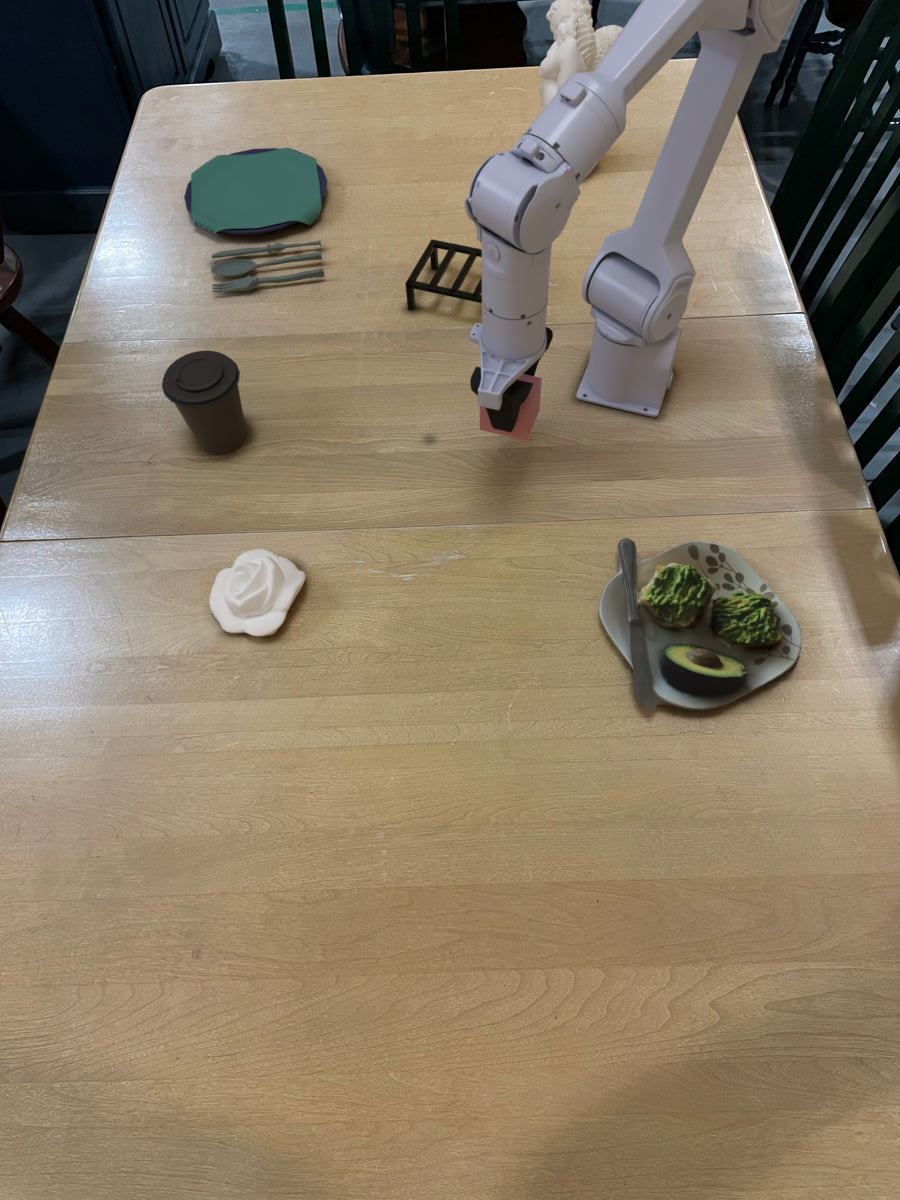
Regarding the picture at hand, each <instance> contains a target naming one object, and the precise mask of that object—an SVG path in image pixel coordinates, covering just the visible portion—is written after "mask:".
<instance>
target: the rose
mask: <svg viewBox="0 0 900 1200" xmlns="http://www.w3.org/2000/svg"><path fill="white" fill-rule="evenodd" d="M306 578H307V576H306V573H305V572H304V571H303V570H302V571H301V570H299V568H298V567H297V566H296V564H295V563H293V562H292V561H291V560H290V559H288V558H286V557H285V556H283V555H276V554H275V553H274V552H272V551H270V550H268V549H266V548H254V549H250V550H247V551H244V552H242V553H240V554H239V555H238V556H237V557H236V559H235V560H234V562H233V564H232V567H226V568H222V569H221V570H220V571H219V572H218V573H217V575H216V577H215V578H214V579H215V580H214V583H213V586H212V588H211V590H210V593H209V598H208V599H209V601H208V602H209V608H210V612H211V614H212V615H213V617H214V618H215V620H217V622H218V623H219V625H220V627H221V629H222V630H223V631H225V632H227V633H230V634H243V633H244V634H248V635H250V636H254V637H265V636H272V635H274V634H276V633H277V631H278V629H279V628H280V627H281V626H282V625H283V624H284V622H285V620H286V618H287V615H288V612H289V610H290V607H291V606H292V604H293V602H294V601H295V599H296V597H297V596H298V594H299V593H300V591H301V590H302V587H303V586H304V583H305V582H306Z"/></svg>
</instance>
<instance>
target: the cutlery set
mask: <svg viewBox="0 0 900 1200" xmlns="http://www.w3.org/2000/svg"><path fill="white" fill-rule="evenodd" d="M327 187H328V178H327V176H326V174H325V172H324V169H323V167H322V166H321V165H319V164H318V163H317V158H315V157H313V156H312V155H308V154H307V153H303V152H302V151H299V150H297V149H295V148H294V149H293V148H291V147H281V148H280V147H279V148H276V147H268V148H267V147H266V148H251V149H246V150H241V151H236V152H232V153H230V154H219V155H216V156H214V157H213V158H211V159H210V160H208V161H206V162H205V163H204V164H202V165H201V166H199V167H198V168H196V169H195V170H194V171H193V172H191V173H190V180H189V182H188V183H187V185H186V189H185V192H184V196H183V198H184V202H185V207H186V210H187V212H188V213H189V214H190V217H191V220H192V222H193V224H194V225H195V226H197V227H198V228H202V229H203V230H206V231H208V232H209V233H211V234H213V235H216V234H217V232H220V233H227V234H232V235H260V234H264V233H269V232H272V231H273V232H274V231H279V230H282V229H284V228H287V227H289V226H291V225H294V224H296V223H298V222H301V223H303V224H305V225H308V226H311V225H312V224H313V223H314V222H315V221H316V220H317V219H318V218H319V216H320V214H321V211H322V201H323V200H324V198H325V197H326V193H327ZM266 245H267V246H258V247H257V246H256V247H245V248H237V249H236V248H235V249H228V250H221V251H218V252H215V253H213V254H212V255H211V258H212V259H213V260H214V259H220V258H221V259H222V258H228V257H229V258H230V257H235V256H236V257H237V256H244V255H252V254H260V253H267V254H268V255H269V256H271V253H273V252H276V253H279V252H281V251H284V250H286V249H292V248H299V247H308V246H309V247H310V246H319V247H322V242H321V239H319V240H315V241H309V242H301V243H299V242H298V243H297V242H296V243H295V242H294V243H286V244H285V243H279V242H275V243H274V244H273V245H271V244H270V243H267V244H266ZM322 260H323V254H322V251H316V252H310V253H304V254H297V255H291V256H286V257H282V258H278V259H274V260H269V261H264V262H261V263H256V262H255V261H252V260H249V259H247V258H233V259H228V260H224V261H220V262H218V263H216V264H215V265H213V266H211V267H210V273H212V274H214V275H217V276H221V277H223V278H237V279H233V280H229V281H225V282H221V283H212V284H211V285H212V287H211V288H212V290H211V291H212V293H216V294H217V293H219V294H221V293H228V292H245V291H251V290H254V289H256V288H258V287H259V285H262V284H282V283H290V282H297V281H302V280H307V279H316V278H325V276H326V275H325V270H324V268H322V267H321V268H317V269H311V270H304V271H300V272H296V273H291V274H286V275H285V274H284V275H280V276H265V277H264V276H263V277H258V276H257V275H255V276H253V277H252V276H250V275H249V274H248V273H250V272H251V271H253V270H256V269H260V268H264V267H265V268H266V267H270V266H278V265H283V264H287V263H288V264H289V263H297V262H298V263H299V262H306V261H322ZM247 274H248V275H247ZM245 275H247V276H246V277H242V276H245ZM238 277H242V278H238Z"/></svg>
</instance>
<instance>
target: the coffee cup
mask: <svg viewBox="0 0 900 1200" xmlns="http://www.w3.org/2000/svg"><path fill="white" fill-rule="evenodd" d="M240 373H241V371H240V369H239V366H238V364H237V363H236V362H235V361H234V360H233V359H232V358H231V357H229V356H227V355H226V354H225V353H222V352H220V351H215V350H198V351H197V350H196V351H193V352H190V353H187V354H184V355H182V356H180V357H178V358H177V359H175V360H174V361H173V362H172V363H171V364H170V365H169V366H168V367H167V369H166V370H165V372H164V374H163V377H162V383H161V389H162V391H163V394H164V396H165V397H166V398H167V399H168V400H169V401H170V402H171V403H173V404H174V406H175V407H176V408H177V410H178V412H179V413H180V415H181V417H182V418H183V421H184V422H185V424H186V426H187V427H188V429H189V430H190V432H191V433H192V435H193V438H195V440H196V442H197V443H198V445H199V447H200V448H201V450H202V451H204V452H205V453H207V454H209V455H212V456H226V455H230V454H232V453H235V452H236V451H237V450H239V449H240V448H242V446H243V445H244V443H245V442H246V440H247V429H246V423H245V418H244V412H243V407H242V405H243V404H242V401H241V395H240V390H239V382H240V377H241V375H240Z"/></svg>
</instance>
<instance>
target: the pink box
mask: <svg viewBox="0 0 900 1200" xmlns="http://www.w3.org/2000/svg"><path fill="white" fill-rule="evenodd" d="M517 380H521V381H525V382H530V383H534V384H533V386H532V388H531V391H530V393H529V395H528V397H527V398H526V400H525V401H524V403H522V404H521V406H520V409H519V414H518V418H517V421H516V424H515V426H514V429H513V431H512V432H506V431H502V430H498V429H494V428H493V427H492V425H491V422H490V419H489V416H488V414H487V411H486V408H485V407H482V406H479V431H483V432H487V433H492V434H496V435H500V436H504V437H508V438H512V439H517V440H521V441H525V442H527V441H528V440H529V437H530V435H531V433H532V430H533V428H534V425H535V422H536V420H537V418H538V415H539V412H540V408H541V407H540V406H541V395H542V393H541V392H542V383H543V378H542V377H540V376H535V375H534V376H530V375H526V374H522V375H521V376H520V377H519V378H518V379H517Z"/></svg>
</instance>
